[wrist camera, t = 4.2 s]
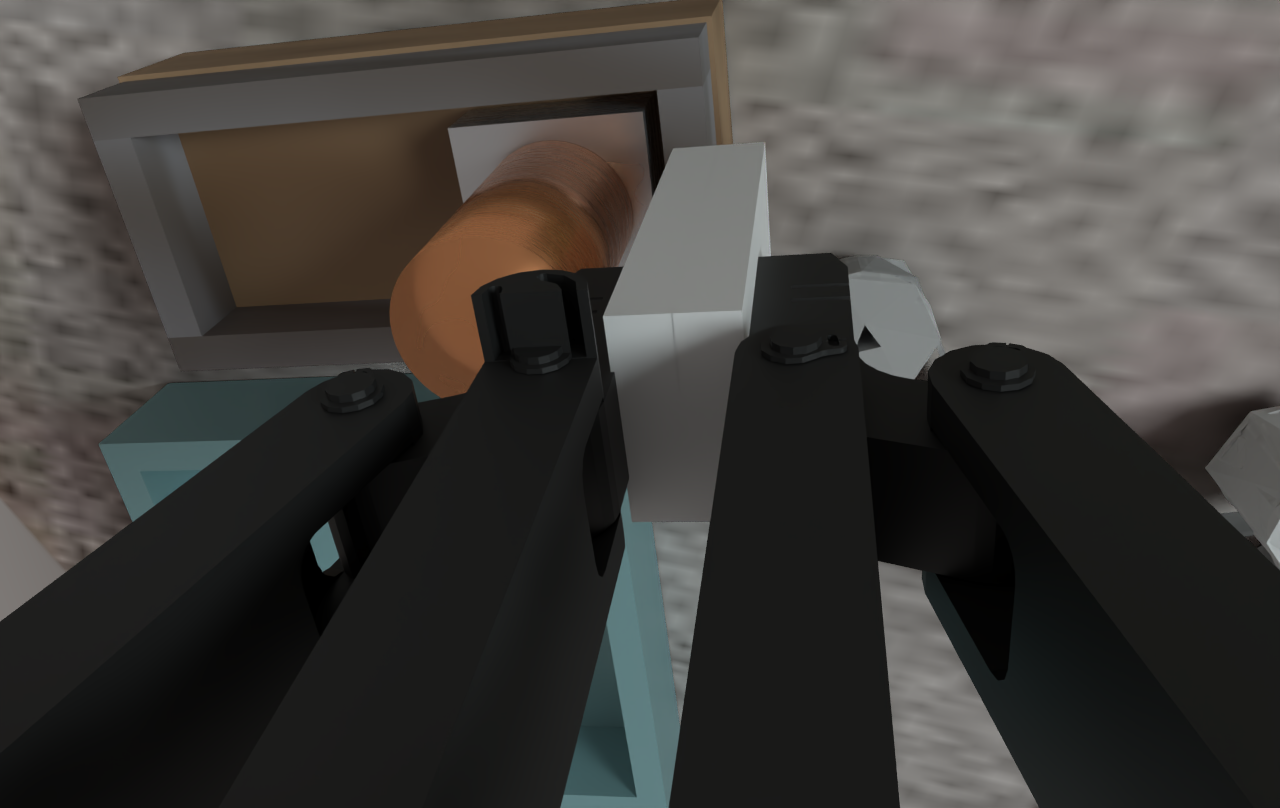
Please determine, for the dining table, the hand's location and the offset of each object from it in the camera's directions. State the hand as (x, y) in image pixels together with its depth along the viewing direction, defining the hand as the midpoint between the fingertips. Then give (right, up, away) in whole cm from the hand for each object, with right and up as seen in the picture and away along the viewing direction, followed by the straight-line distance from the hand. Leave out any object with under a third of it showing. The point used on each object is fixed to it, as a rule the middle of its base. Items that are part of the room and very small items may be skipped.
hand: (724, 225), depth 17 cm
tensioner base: (-5, +2, +6) cm, 8 cm away
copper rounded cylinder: (-3, +1, +3) cm, 4 cm away
